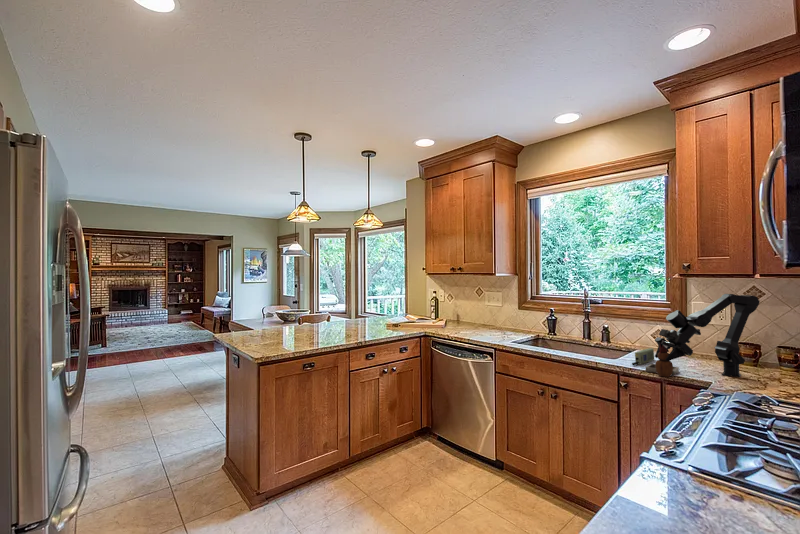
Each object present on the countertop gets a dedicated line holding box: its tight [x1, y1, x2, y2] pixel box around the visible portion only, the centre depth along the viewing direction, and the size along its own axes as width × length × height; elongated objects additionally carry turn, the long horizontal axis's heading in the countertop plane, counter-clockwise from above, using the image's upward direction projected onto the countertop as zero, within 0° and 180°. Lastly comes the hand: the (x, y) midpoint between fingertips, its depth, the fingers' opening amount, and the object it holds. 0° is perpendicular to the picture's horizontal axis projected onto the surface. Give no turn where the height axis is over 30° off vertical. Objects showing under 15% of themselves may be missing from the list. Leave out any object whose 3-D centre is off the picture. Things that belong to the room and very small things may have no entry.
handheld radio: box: [631, 347, 655, 366], centre depth 210 cm, size 7×3×25 cm
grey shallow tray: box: [645, 363, 680, 376], centre depth 190 cm, size 11×12×2 cm
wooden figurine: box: [654, 345, 674, 378], centre depth 181 cm, size 7×6×15 cm
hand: (660, 358), depth 181 cm, fingers open, 7 cm apart
